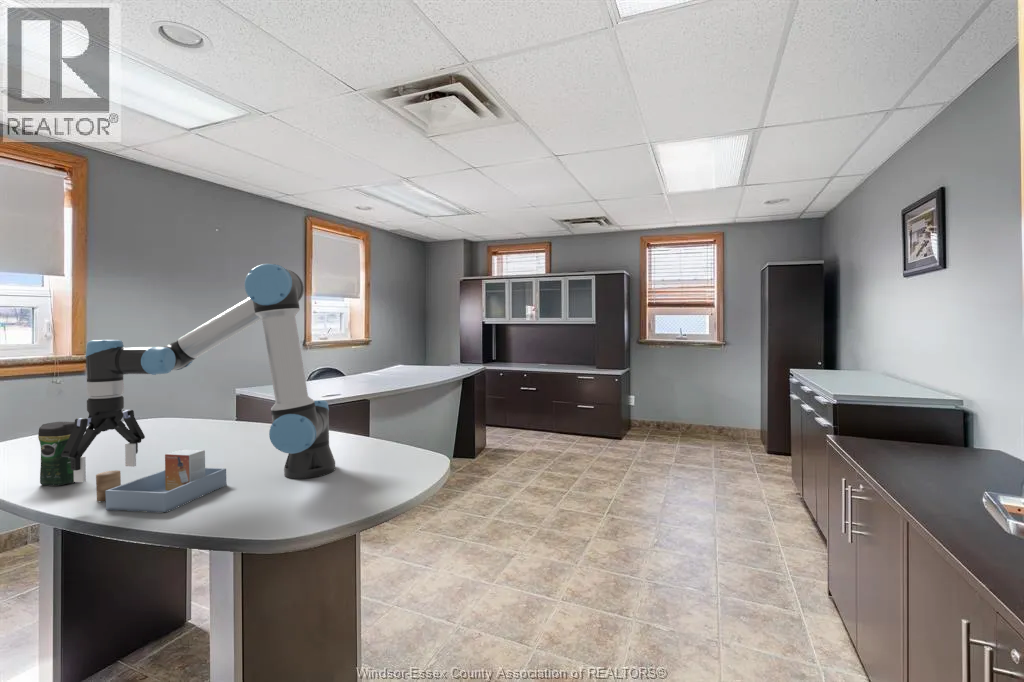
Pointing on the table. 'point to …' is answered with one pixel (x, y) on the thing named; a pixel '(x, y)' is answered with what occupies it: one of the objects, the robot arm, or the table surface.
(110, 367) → the robot arm
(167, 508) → the tray
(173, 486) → the small box
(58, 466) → the coffee jar
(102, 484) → the tan wooden block
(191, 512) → the table surface
